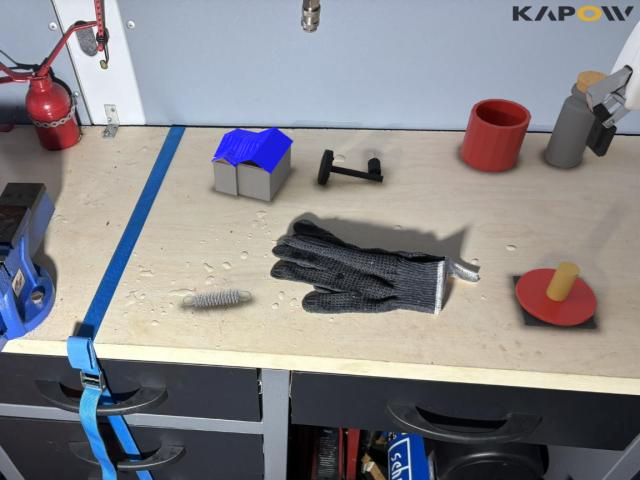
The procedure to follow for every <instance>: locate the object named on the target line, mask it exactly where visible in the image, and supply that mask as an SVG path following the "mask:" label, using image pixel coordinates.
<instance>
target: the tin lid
mask: <svg viewBox="0 0 640 480" xmlns="http://www.w3.org/2000/svg"><path fill="white" fill-rule="evenodd" d="M580 272H581V269H580V267H579V266H578V264H576V263H574V262H571V261H561V262H560V263H559V264H558V266H557V268H549V267H547V268H546V267H545V268H543V267H542V268H534V269H532V270H528V271H527V272H525V273H524V274H522V275H520V276H521V277H520V279H519V280H518V283H517V285H516V288H515V295H516V299H517V301H518V302H520V303H519V305H520V304H521V305H522V306H523V307H524V309H525V310H527V311H528V312H529V313H530V314H532V315H533V316H535V317H537V318H538V319H541V320H543V321H545V322H548V323H552V324H557V325H576V324H580V323H583V322H585V321H587V320H588V319H589V318H591V316H592V315H593V316H594V313H595V312H596V309H597V306H598V301H597V297H596V294H595V292H594V291H593V289H592V288H591V287H590V286H589V284H587V283H586V281H584V280H583V279H581V278H580V277H578V276H579V275H580Z"/></svg>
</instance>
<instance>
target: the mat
mask: <svg viewBox="0 0 640 480" xmlns="http://www.w3.org/2000/svg"><path fill="white" fill-rule="evenodd" d="M521 276H522V275H512V281H513V284H514V288H515V289H516V285H517V283H518V280H519V279H520V277H521ZM518 302H519V301H518ZM519 306H520V310H521V315H522V318H523V322H524V325H525V326H539V327H553V328H554V327H557V328H573V329H593V330H596V329H597V324H596V321H595V318H594V314H593V315H592V316H591V318H589V319H588V320H587V321H585V322H583V323H580V324H576V325H557V324H552V323H548V322H545V321H543V320H541V319H538V318H537V317H535V316H533V315H532V314H530V313H529V312H528V311H527V310H525V309H524V307H523V306H522V305H521V304H520V302H519Z"/></svg>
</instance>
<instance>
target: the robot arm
mask: <svg viewBox="0 0 640 480" xmlns="http://www.w3.org/2000/svg"><path fill="white" fill-rule="evenodd" d="M607 76H608V77H606V78H604V79H602V80H600V81H598V82H597V83H595V84H593V85H591V86H589V87H588V88H587V89H586V99H587V102H588V103H587V108H588V109H589V110H590V111H591V113H592V115H593V116H594V117H595V120H594V122H593V125H592V127H591V130H590V132H589V134H588V137H587V139H586V145H587V147H588V149H590V150H591V152H592V153H593V154H594V155H595V156H596V157H597V158H602V157H605V156H606V155H607V152H608V150H609V148H610V146H611V144H612V142H613V139H614V137H615V135H616V133H617V131H618V127H617V126H616V124H617V123H618V122H619V121H621V119H623V118H624V117H625V116H627V114H629V113H630V112H631V111H640V19H639V20H638V22H637V23H636V25H635V26H634V28H633V30H632V31H631V33H630V35H629V36H628V38H627V39H626V41H625V43H624V45H623V47H622V49H621V51H620V53H619V55H618V57H617V60H616V61H615V64H614V65H613V67H612V70H611V72H610V74H609V75H607ZM607 95H608V96H607ZM605 96H606V97H605ZM604 97H605V98H604ZM617 103H619V106H618V107H616V109H614V110H613V111H612V112H610V109H612V108H613V107H614V106H615V105H616V104H617Z"/></svg>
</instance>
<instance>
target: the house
mask: <svg viewBox="0 0 640 480" xmlns="http://www.w3.org/2000/svg"><path fill="white" fill-rule="evenodd" d="M293 143H294V140H293V139H292V138H290V137H289V136H288V135H287V134H285V133H284V132H282V130H280V129H279V128H278V127H276V126H274V127H273V126H272V127H270V128H267V129H264V130H262V131H259V132H256V131H252V130H247V129H242V128H239V127H238V128H235V129H233V130H231V131H228V132H226V133H224V135H223V136H222V138H221V140H220V143H219V144H218V145H217V148H216V151H215V152H214V155H212V156H213V158H212V159H211V160H210V163H212V167H213V179H214V189H215V191H216V192H221V193H224V194H228V195H232V196H236V197H237V196H238V195H241V196H246V197H250V198H254V199H257V200H262V201H265V202H271V201H272V199H273V198H274V196H275V195H276V193H277V192H278V190H279V189H280V188H281V186H282V184H283V183H284V181H285V180H286V178H287V177H288V176H289V174H290V172H292V171H291V168H292V165H291V164H292V144H293Z"/></svg>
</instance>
